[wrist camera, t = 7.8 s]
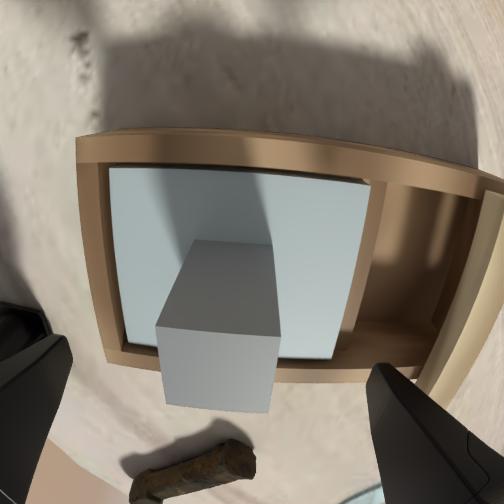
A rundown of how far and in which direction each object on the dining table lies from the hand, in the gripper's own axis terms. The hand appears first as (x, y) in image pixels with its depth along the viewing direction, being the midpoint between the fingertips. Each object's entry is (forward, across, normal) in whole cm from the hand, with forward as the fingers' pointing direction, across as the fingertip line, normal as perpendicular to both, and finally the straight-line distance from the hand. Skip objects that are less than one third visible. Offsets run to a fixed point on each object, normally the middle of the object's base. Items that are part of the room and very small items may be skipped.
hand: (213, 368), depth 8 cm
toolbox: (+10, -4, 0) cm, 10 cm away
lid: (+6, 0, 0) cm, 6 cm away
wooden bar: (+4, -11, +3) cm, 12 cm away
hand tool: (+10, +4, +26) cm, 29 cm away
